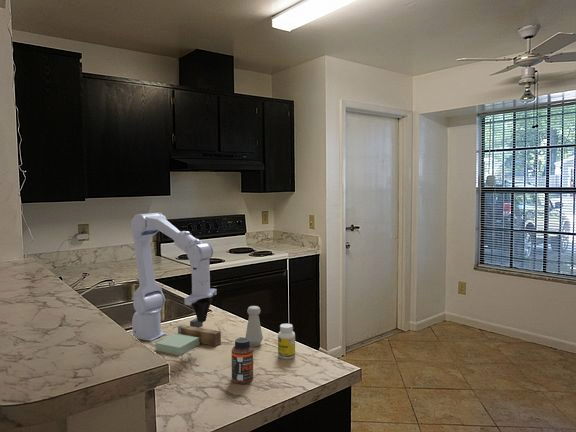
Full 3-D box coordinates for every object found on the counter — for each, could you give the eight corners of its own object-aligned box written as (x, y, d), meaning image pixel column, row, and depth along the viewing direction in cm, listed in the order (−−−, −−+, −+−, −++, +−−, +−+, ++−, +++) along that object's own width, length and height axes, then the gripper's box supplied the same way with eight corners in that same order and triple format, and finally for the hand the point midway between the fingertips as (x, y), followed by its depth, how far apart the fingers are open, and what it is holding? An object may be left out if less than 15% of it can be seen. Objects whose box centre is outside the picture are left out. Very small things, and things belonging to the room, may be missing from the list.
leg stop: (190, 329, 162) (190, 321, 162) (198, 325, 167) (198, 317, 166) (194, 329, 161) (194, 321, 161) (202, 325, 166) (202, 318, 166)
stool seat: (155, 350, 142) (155, 342, 141) (175, 340, 151) (175, 333, 150) (180, 355, 137) (179, 347, 137) (199, 344, 146) (199, 337, 146)
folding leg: (176, 338, 152) (175, 326, 151) (182, 335, 154) (181, 324, 154) (215, 345, 145) (215, 333, 144) (221, 342, 147) (220, 330, 147)
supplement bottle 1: (244, 386, 116) (243, 345, 115) (227, 381, 119) (226, 341, 118) (257, 378, 121) (257, 338, 120) (240, 373, 124) (240, 334, 123)
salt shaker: (260, 348, 142) (259, 309, 141) (243, 347, 144) (242, 308, 143) (264, 342, 148) (264, 304, 147) (248, 341, 149) (248, 304, 148)
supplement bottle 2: (274, 356, 136) (274, 325, 135) (286, 351, 140) (286, 321, 139) (287, 360, 132) (286, 329, 132) (298, 355, 136) (298, 325, 136)
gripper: (197, 286, 132) (198, 329, 133) (223, 276, 145) (224, 316, 146) (178, 284, 135) (179, 326, 136) (206, 275, 148) (207, 314, 149)
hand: (201, 321), depth 141 cm, fingers closed
